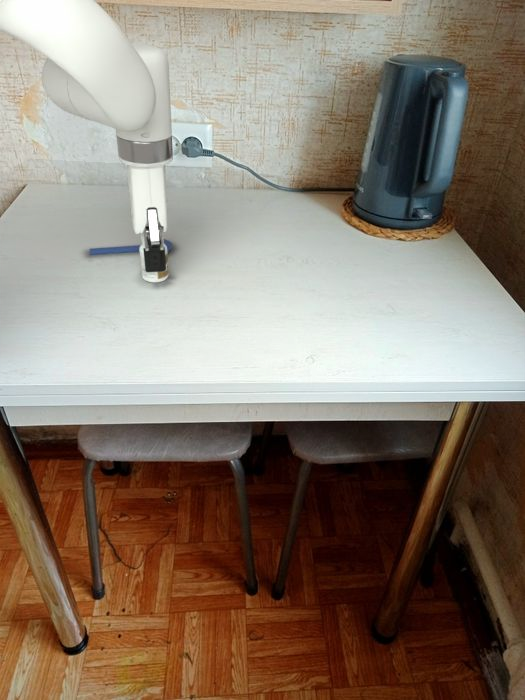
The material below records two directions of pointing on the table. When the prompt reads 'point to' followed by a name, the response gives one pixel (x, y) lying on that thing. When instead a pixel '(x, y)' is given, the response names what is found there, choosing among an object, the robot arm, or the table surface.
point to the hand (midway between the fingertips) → (154, 261)
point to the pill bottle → (152, 275)
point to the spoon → (123, 249)
